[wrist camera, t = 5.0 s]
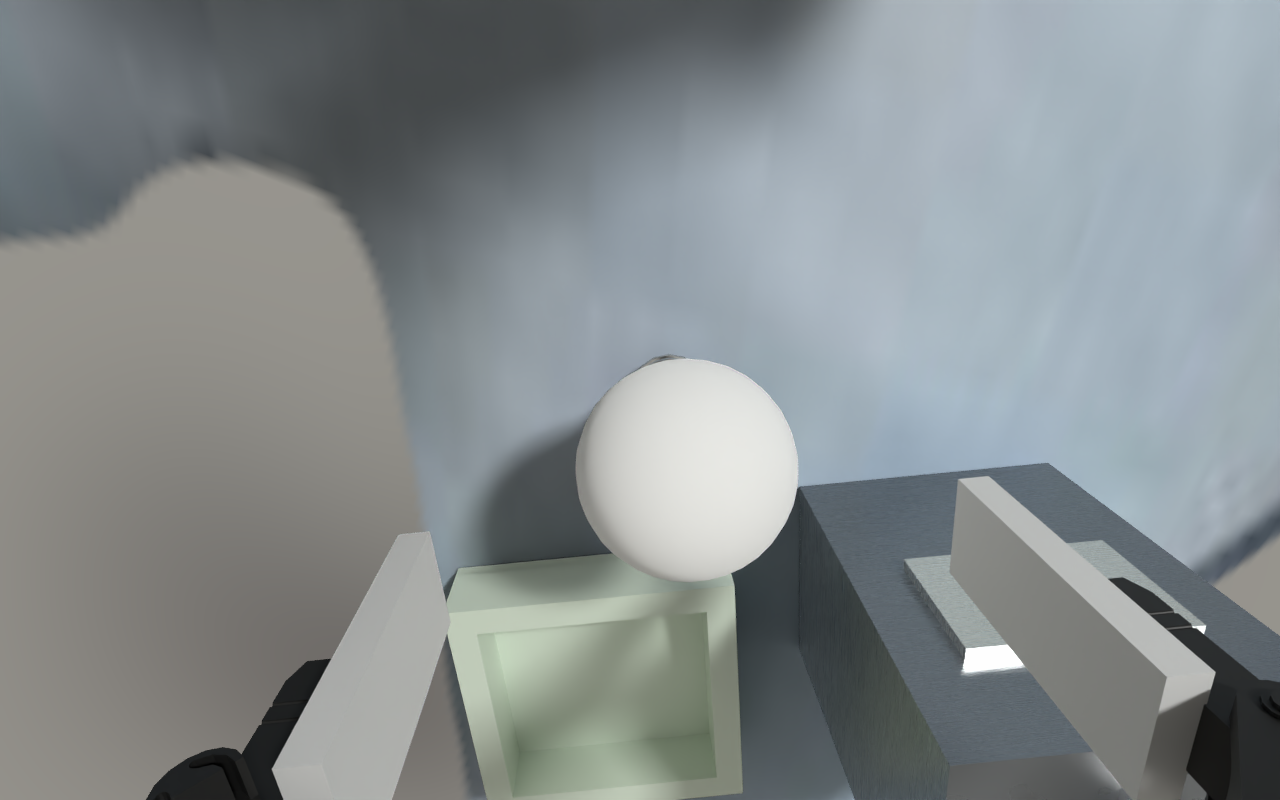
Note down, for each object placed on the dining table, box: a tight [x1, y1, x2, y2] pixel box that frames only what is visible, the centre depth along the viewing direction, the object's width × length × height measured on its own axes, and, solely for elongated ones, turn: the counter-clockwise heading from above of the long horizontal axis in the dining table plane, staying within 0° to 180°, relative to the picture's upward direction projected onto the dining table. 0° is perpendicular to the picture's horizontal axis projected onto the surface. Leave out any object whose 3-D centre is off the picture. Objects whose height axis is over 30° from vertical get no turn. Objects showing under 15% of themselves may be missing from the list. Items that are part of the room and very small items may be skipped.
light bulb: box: [575, 354, 798, 582], centre depth 22 cm, size 7×7×11 cm
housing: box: [799, 463, 1280, 800], centre depth 24 cm, size 9×11×16 cm
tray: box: [446, 553, 743, 800], centre depth 31 cm, size 12×12×3 cm
